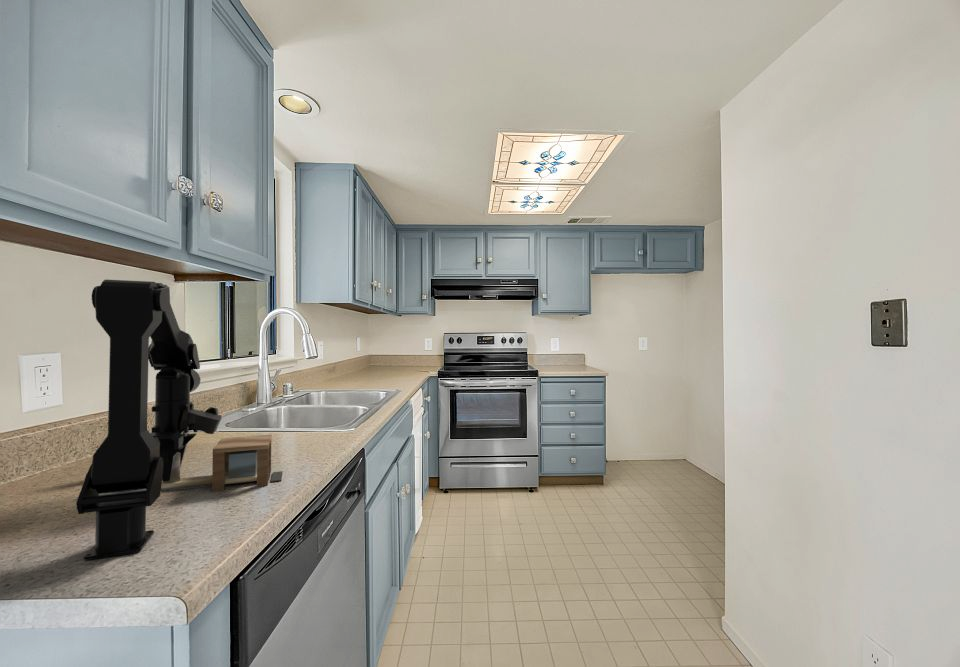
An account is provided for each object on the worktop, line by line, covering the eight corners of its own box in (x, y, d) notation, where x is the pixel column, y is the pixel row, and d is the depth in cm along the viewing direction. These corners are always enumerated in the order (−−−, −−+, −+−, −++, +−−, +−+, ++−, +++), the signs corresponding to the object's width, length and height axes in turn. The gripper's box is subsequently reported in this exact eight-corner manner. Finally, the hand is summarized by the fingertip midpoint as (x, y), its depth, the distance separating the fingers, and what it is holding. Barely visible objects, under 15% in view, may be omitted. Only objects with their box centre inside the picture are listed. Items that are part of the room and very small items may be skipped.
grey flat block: (281, 481, 92) (281, 479, 92) (270, 482, 91) (270, 480, 91) (282, 472, 98) (282, 471, 98) (272, 473, 97) (272, 472, 97)
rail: (269, 479, 93) (269, 477, 93) (81, 500, 81) (81, 496, 81) (269, 476, 95) (269, 473, 95) (87, 495, 83) (87, 492, 83)
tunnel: (267, 485, 89) (268, 444, 89) (212, 491, 86) (212, 449, 86) (271, 471, 99) (271, 434, 99) (221, 476, 95) (221, 438, 95)
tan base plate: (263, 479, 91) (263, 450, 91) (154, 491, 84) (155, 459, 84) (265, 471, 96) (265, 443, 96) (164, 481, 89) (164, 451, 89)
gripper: (209, 404, 82) (208, 485, 82) (225, 392, 99) (224, 459, 99) (137, 407, 77) (136, 493, 77) (168, 394, 95) (167, 464, 95)
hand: (171, 475), depth 87 cm, fingers open, 7 cm apart
